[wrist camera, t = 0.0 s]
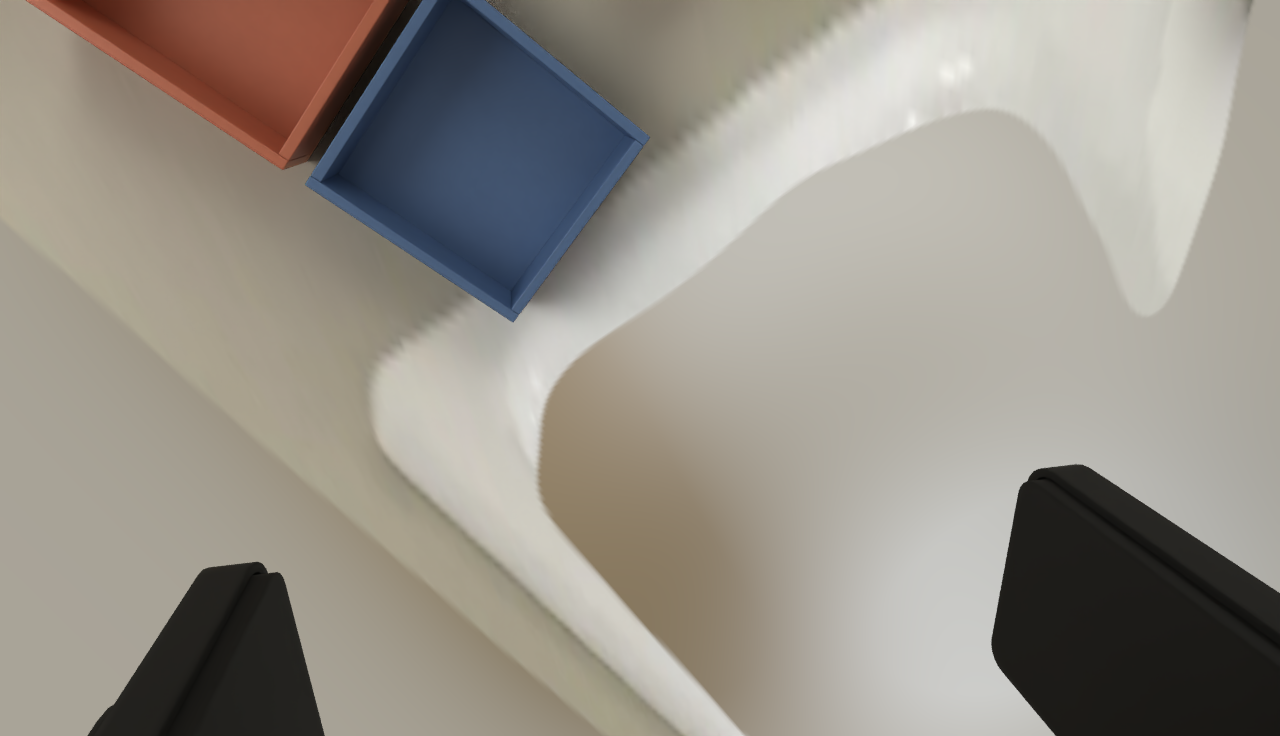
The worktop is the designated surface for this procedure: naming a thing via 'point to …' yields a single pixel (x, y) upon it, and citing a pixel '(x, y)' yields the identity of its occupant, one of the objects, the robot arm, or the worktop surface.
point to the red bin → (243, 59)
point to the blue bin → (477, 152)
